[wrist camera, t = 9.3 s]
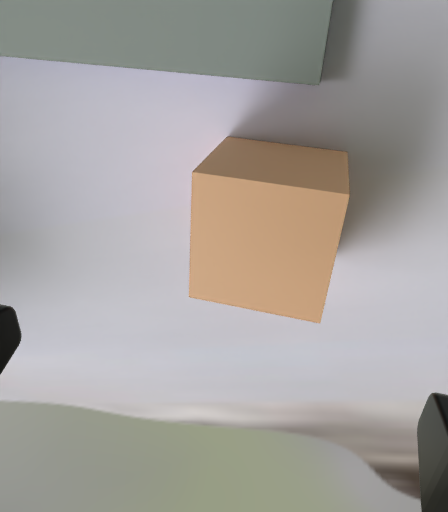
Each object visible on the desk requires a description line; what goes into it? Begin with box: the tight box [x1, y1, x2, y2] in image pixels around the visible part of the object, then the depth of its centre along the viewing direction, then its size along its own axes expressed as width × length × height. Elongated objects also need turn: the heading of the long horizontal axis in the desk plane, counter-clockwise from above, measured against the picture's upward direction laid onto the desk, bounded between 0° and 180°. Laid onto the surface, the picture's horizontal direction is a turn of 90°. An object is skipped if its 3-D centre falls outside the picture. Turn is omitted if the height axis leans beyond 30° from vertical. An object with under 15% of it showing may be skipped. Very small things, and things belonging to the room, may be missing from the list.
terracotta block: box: [189, 137, 350, 323], centre depth 16 cm, size 5×5×5 cm
